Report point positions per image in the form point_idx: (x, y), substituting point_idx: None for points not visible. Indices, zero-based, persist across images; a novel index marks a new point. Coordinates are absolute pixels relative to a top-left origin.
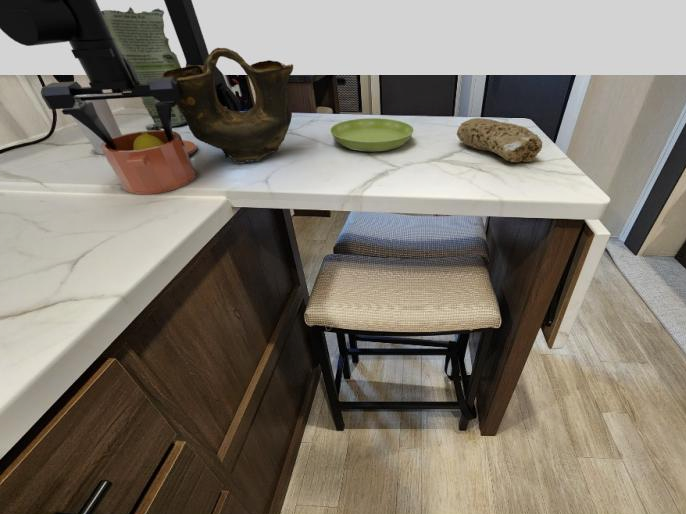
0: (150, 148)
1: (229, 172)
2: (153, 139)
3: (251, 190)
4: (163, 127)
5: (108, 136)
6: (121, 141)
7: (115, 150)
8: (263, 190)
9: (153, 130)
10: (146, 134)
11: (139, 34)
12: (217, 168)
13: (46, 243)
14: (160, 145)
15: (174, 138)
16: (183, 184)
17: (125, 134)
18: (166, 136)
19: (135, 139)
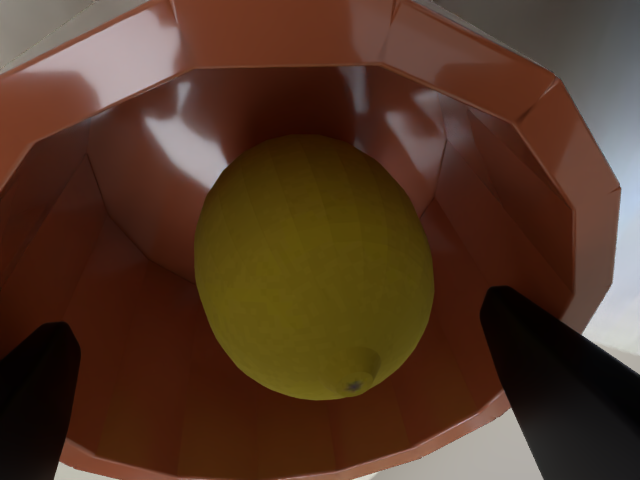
0: (375, 468)
1: (619, 159)
2: (395, 370)
3: (592, 336)
4: (544, 474)
5: (32, 443)
6: (8, 187)
7: (13, 252)
8: (622, 342)
9: (391, 19)
10: (364, 387)
11: None
12: (597, 71)
13: (67, 475)
14: (430, 441)
15: (544, 199)
16: None
17: (3, 122)
18: (502, 386)
19: (252, 367)
